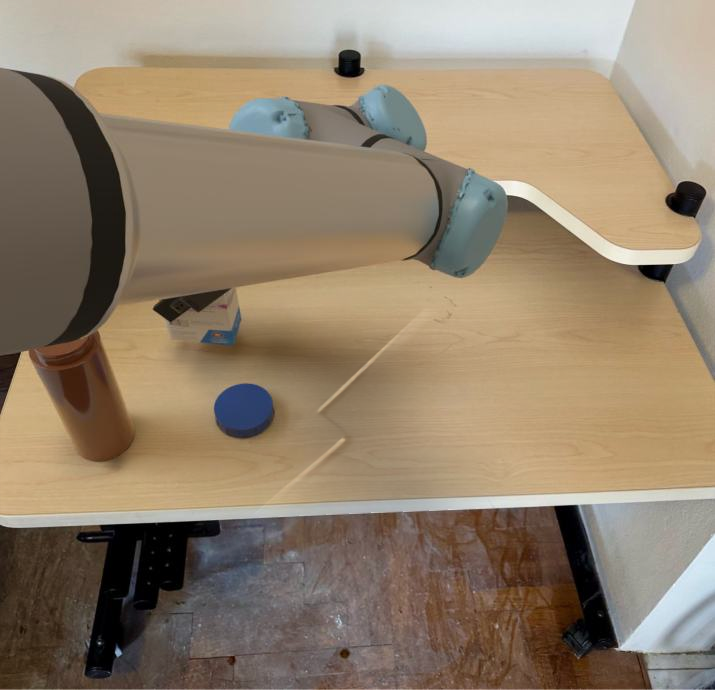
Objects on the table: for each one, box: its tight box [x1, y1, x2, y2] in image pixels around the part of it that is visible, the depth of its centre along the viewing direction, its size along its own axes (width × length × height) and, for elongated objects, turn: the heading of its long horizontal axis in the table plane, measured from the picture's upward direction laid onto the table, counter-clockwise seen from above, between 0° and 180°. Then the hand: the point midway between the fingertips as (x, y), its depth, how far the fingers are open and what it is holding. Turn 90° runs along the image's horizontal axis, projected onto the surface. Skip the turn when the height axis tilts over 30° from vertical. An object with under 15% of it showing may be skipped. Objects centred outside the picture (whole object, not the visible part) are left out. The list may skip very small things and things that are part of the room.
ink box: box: [158, 287, 242, 347], centre depth 81 cm, size 8×5×15 cm, turn 84°
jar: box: [28, 329, 136, 462], centre depth 72 cm, size 7×7×17 cm
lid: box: [213, 382, 275, 439], centre depth 81 cm, size 7×7×2 cm
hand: (171, 297), depth 83 cm, fingers closed on ink box, 5 cm apart
